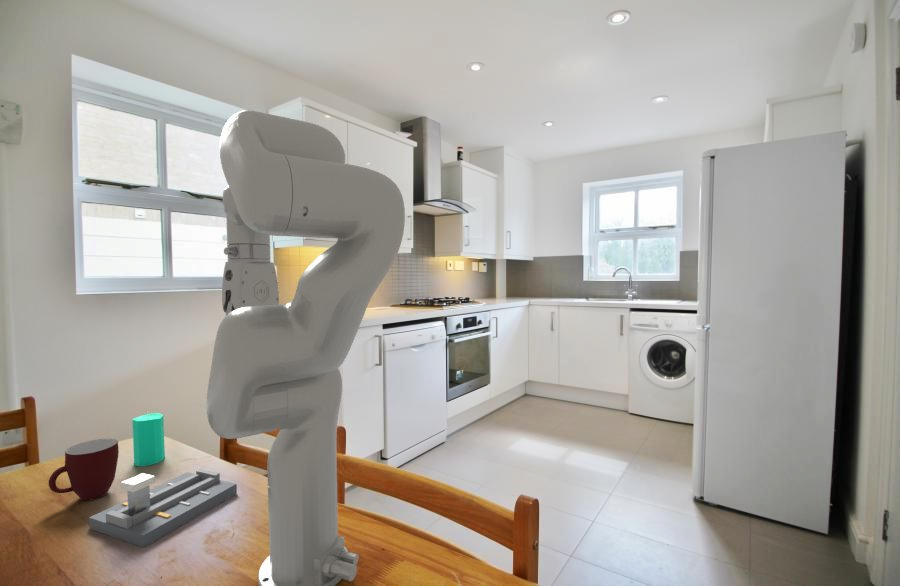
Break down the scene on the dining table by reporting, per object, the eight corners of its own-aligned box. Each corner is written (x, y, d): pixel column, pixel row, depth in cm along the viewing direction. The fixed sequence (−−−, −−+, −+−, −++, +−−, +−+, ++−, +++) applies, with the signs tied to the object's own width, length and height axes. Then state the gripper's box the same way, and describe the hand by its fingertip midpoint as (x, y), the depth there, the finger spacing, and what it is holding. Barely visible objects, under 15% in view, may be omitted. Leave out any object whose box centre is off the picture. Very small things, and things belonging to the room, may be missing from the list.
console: (236, 493, 85) (236, 476, 85) (143, 547, 69) (142, 526, 69) (187, 481, 91) (186, 465, 90) (89, 528, 74) (88, 508, 74)
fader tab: (156, 508, 76) (154, 475, 76) (134, 519, 73) (133, 485, 72) (144, 505, 77) (142, 472, 77) (122, 515, 74) (121, 482, 73)
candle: (140, 468, 97) (138, 416, 96) (129, 462, 100) (127, 411, 100) (169, 458, 102) (167, 409, 101) (157, 453, 105) (156, 405, 105)
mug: (62, 517, 77) (59, 463, 77) (42, 506, 81) (40, 454, 81) (128, 491, 87) (126, 442, 86) (108, 482, 90) (106, 435, 90)
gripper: (231, 252, 74) (234, 357, 75) (292, 255, 88) (294, 344, 89) (200, 253, 77) (203, 354, 78) (264, 256, 91) (266, 342, 92)
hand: (251, 349), depth 84 cm, fingers closed
